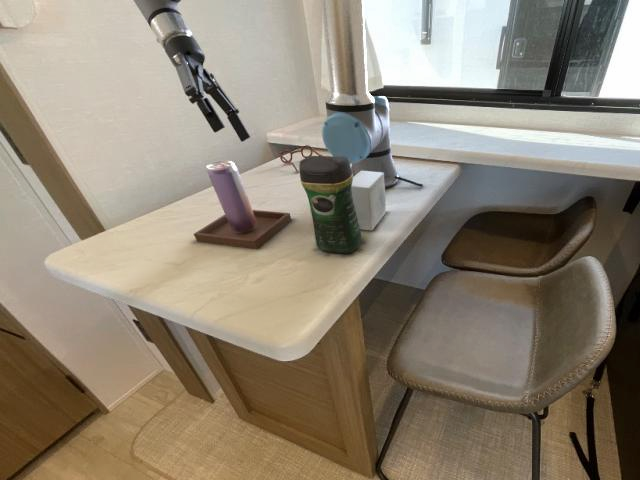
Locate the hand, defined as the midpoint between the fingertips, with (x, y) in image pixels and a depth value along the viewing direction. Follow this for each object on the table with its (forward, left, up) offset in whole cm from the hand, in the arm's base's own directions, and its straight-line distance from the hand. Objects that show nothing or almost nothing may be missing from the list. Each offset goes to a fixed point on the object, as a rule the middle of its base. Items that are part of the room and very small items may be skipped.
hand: (233, 134), depth 80 cm
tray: (-9, +17, -18) cm, 26 cm away
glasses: (+3, -34, -18) cm, 39 cm away
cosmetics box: (-37, +6, -18) cm, 41 cm away
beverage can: (-9, +17, -17) cm, 25 cm away
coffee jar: (-35, +19, -18) cm, 43 cm away
